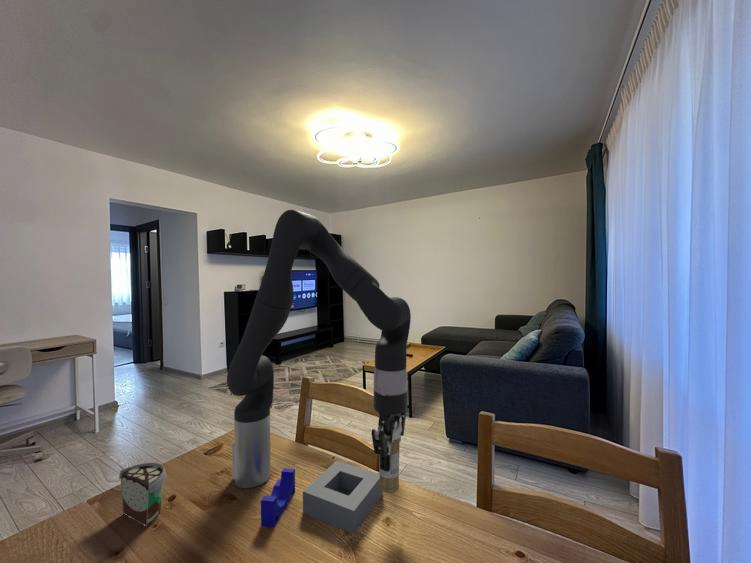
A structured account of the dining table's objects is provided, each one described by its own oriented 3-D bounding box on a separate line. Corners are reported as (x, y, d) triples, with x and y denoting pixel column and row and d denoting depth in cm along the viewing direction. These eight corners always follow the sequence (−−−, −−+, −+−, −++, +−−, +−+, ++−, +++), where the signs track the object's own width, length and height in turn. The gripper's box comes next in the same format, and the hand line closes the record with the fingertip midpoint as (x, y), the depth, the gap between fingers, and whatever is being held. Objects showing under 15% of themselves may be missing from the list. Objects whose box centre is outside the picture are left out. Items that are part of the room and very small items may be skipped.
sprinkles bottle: (394, 479, 72) (395, 421, 72) (402, 491, 68) (402, 430, 68) (375, 483, 71) (376, 424, 71) (382, 496, 66) (383, 433, 66)
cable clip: (278, 490, 81) (278, 467, 81) (295, 491, 80) (294, 468, 80) (254, 526, 69) (254, 499, 69) (273, 528, 68) (273, 501, 68)
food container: (178, 510, 74) (178, 468, 74) (150, 529, 68) (150, 484, 68) (147, 496, 79) (147, 456, 79) (119, 512, 73) (119, 470, 73)
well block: (302, 512, 73) (302, 491, 73) (336, 478, 85) (336, 460, 85) (354, 534, 66) (354, 510, 66) (382, 494, 79) (382, 474, 79)
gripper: (388, 376, 77) (387, 444, 77) (359, 394, 64) (359, 477, 64) (417, 380, 74) (416, 452, 74) (392, 401, 61) (392, 488, 61)
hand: (389, 463), depth 69 cm, fingers closed on sprinkles bottle, 4 cm apart
